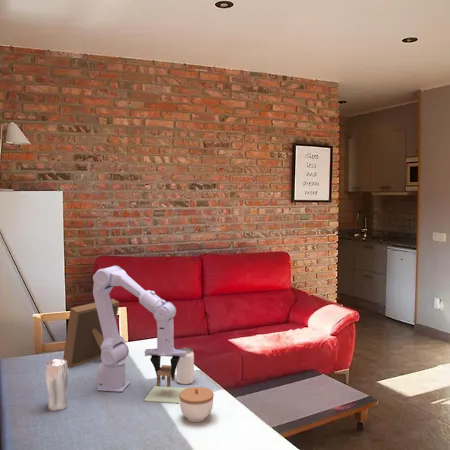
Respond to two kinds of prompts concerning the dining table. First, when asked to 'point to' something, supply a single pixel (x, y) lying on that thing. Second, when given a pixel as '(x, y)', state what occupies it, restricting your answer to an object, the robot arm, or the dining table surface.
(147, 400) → the mat
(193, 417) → the lidded jar
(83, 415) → the dining table surface
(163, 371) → the stool
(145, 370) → the dining table surface
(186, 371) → the can
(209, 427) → the dining table surface
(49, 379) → the beer glass
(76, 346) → the photo frame
